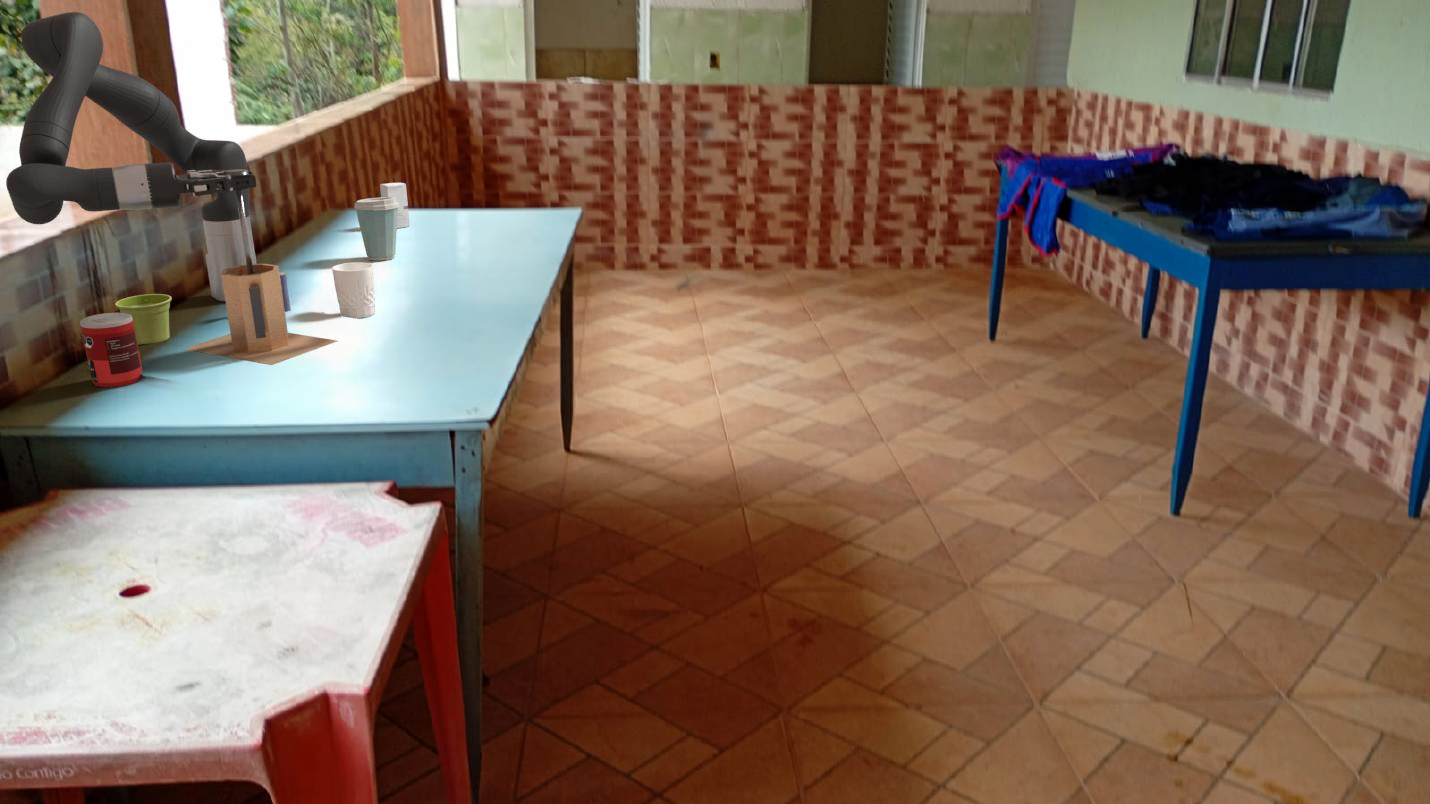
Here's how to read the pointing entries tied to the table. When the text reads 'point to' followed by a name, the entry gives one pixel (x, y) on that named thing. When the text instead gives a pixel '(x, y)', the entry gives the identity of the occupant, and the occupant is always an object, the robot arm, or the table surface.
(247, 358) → the walnut board
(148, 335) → the plant pot
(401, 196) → the skincare box
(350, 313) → the white cup
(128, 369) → the canned food
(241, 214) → the plunger
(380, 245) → the disposable coffee cup
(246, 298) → the press beaker
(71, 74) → the robot arm
